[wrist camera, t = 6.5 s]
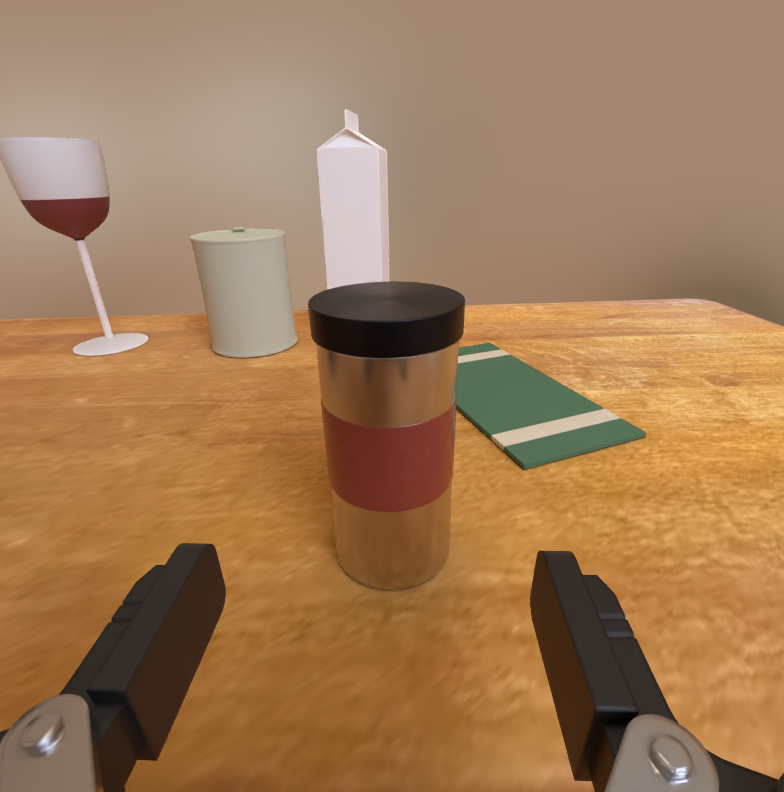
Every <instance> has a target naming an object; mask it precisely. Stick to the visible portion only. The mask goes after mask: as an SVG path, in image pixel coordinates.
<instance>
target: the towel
mask: <svg viewBox="0 0 784 792" xmlns="http://www.w3.org/2000/svg"><path fill="white" fill-rule="evenodd" d="M456 394H457V404H456V409H457V410H459V411H460V412H461V413H462V414H463V415H464V416H465V417H466V418H467V419H469V420H470V421H471V422H472V423H473V424H474V425H475V426H476V427H477V428H478V429H480V430H481V431H482V432H483V433H484V434H485V435H486V436H487V437H488V438H490V439H491V440H492V441H493V442H494V443H495V444H496V445H497V446H498V447H500V448H501V449H502V450H503V451H504V452H505V453H506V454H507V455H508V456H509V457H511V458H512V459H513V460H514V461H515V462H516V463H517V464H518V465H519V466H521V467H522V468H523V469H527V468H531V467H535V466H539V465H542V464H546V463H550V462H554V461H557V460H561V459H565V458H569V457H572V456H576V455H580V454H583V453H587V452H591V451H595V450H598V449H602V448H606V447H610V446H613V445H617V444H621V443H625V442H628V441H632V440H636V439H640V438H643V437H645V435H646V432H644V431H643V430H641V429H639V428H637V427H636V426H634V425H632V424H630V423H629V422H627V421H625V420H623V419H622V418H620V417H619V416H617V415H615V414H613V413H612V412H610V411H608V410H606V409H604V408H603V407H601V406H599V405H597V404H596V403H594V402H592V401H590V400H589V399H587V398H585V397H583V396H582V395H580V394H578V393H576V392H575V391H573V390H571V389H569V388H568V387H566V386H564V385H562V384H561V383H559V382H557V381H555V380H554V379H552V378H550V377H548V376H547V375H545V374H543V373H541V372H540V371H538V370H536V369H535V368H533V367H531V366H529V365H528V364H526V363H524V362H522V361H521V360H519V359H517V358H515V357H514V356H512V355H510V354H509V353H507V352H505V351H503V350H502V349H500V348H498V347H496V346H494V345H493V344H491V343H486V344H479V345H473V346H467V347H460V348H459V350H458V369H457V389H456Z"/></svg>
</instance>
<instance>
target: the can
mask: <svg viewBox="0 0 784 792" xmlns="http://www.w3.org/2000/svg"><path fill="white" fill-rule="evenodd" d="M190 240H191V243H192V246H193V251H194V255H195V260H196V264H197V269H198V273H199V278H200V283H201V288H202V293H203V297H204V302H205V307H206V312H207V317H208V322H209V328H210V333H211V340H212V349H213V351H214V352H215V353H217V354H219V355H222V356H226V357H234V358H251V357H260V356H266V355H271V354H275V353H279V352H282V351H284V350H287V349H289V348H290V347H292V346H293V345H295V344H296V342H297V340H298V337H297V334H296V330H295V324H294V316H293V308H292V301H291V291H290V282H289V274H288V265H287V255H286V244H285V232H284V231H281V230H274V229H246V228H245V227H236V228H235V227H234V228H232V230H223V231H213V232H205V233H200V234H195V235H192V236H191V237H190Z"/></svg>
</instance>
